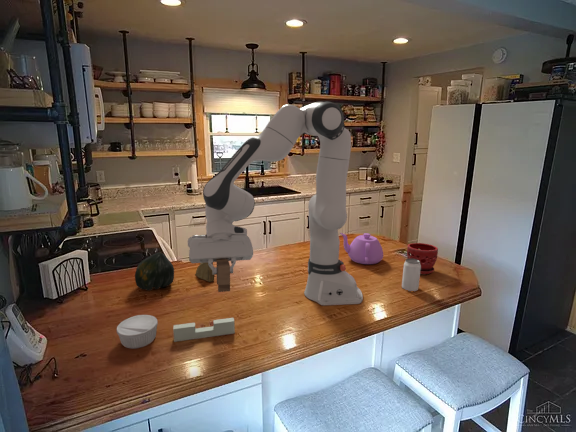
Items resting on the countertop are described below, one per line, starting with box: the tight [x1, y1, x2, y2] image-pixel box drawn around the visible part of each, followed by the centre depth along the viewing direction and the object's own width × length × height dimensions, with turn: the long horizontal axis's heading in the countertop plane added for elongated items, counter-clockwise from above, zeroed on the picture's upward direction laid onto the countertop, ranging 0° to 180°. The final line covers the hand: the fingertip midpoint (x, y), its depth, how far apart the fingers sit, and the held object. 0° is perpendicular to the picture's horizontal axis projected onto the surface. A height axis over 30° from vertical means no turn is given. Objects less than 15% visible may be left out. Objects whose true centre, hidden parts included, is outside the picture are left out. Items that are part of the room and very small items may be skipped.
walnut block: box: [216, 259, 231, 293], centre depth 107 cm, size 7×4×8 cm, turn 16°
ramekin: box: [116, 314, 159, 349], centre depth 103 cm, size 11×11×5 cm
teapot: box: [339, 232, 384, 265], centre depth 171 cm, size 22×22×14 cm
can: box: [401, 258, 421, 292], centre depth 140 cm, size 6×6×12 cm
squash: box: [134, 252, 175, 291], centre depth 137 cm, size 14×15×15 cm
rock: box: [194, 262, 216, 283], centre depth 146 cm, size 11×9×10 cm
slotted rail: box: [172, 317, 236, 343], centre depth 105 cm, size 18×2×4 cm, turn 106°
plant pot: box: [406, 242, 439, 275], centre depth 158 cm, size 13×13×12 cm
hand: (223, 273), depth 107 cm, fingers closed on walnut block, 3 cm apart
